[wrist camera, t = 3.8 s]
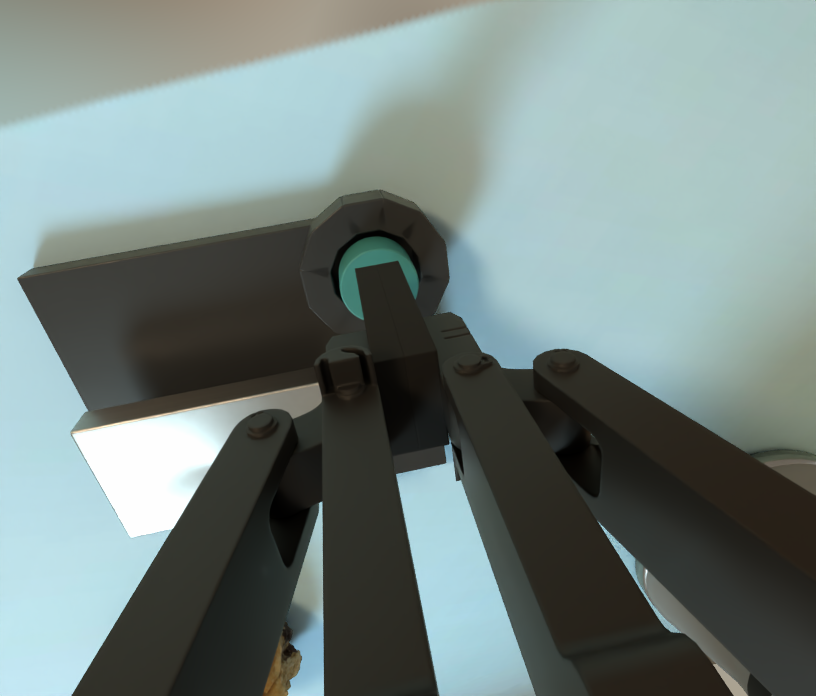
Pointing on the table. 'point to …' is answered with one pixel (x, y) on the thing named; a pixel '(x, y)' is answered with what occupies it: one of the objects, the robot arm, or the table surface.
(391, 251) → the tare button
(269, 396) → the silver metal plate
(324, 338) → the scale
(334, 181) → the table surface
